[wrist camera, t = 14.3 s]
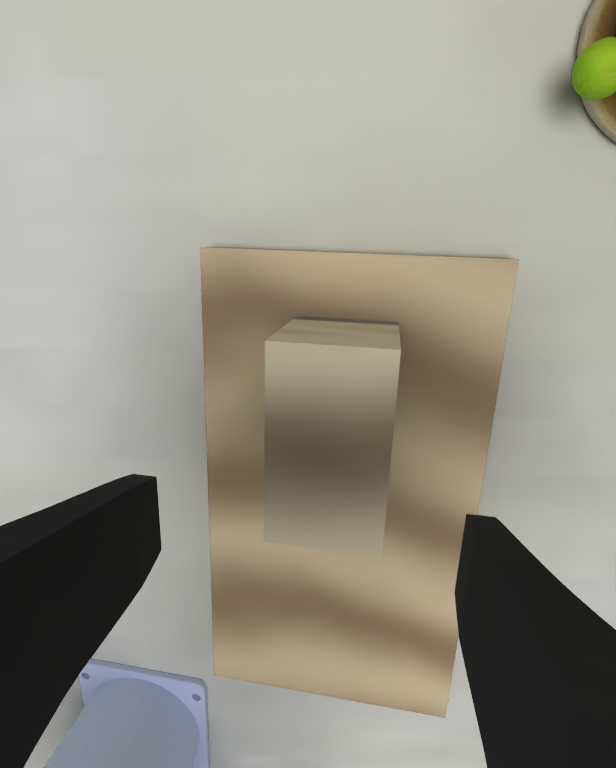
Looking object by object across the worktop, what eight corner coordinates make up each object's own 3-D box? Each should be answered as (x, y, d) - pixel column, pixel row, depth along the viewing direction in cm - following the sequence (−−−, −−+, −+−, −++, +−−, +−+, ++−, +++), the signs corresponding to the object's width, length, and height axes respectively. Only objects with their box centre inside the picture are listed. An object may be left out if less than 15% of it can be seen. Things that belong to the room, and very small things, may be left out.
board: (442, 695, 24) (445, 718, 23) (222, 656, 26) (214, 675, 25) (510, 258, 18) (518, 259, 17) (211, 247, 20) (199, 247, 19)
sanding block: (384, 483, 20) (381, 557, 15) (293, 473, 21) (263, 541, 16) (398, 322, 18) (400, 350, 13) (296, 316, 19) (265, 340, 14)
